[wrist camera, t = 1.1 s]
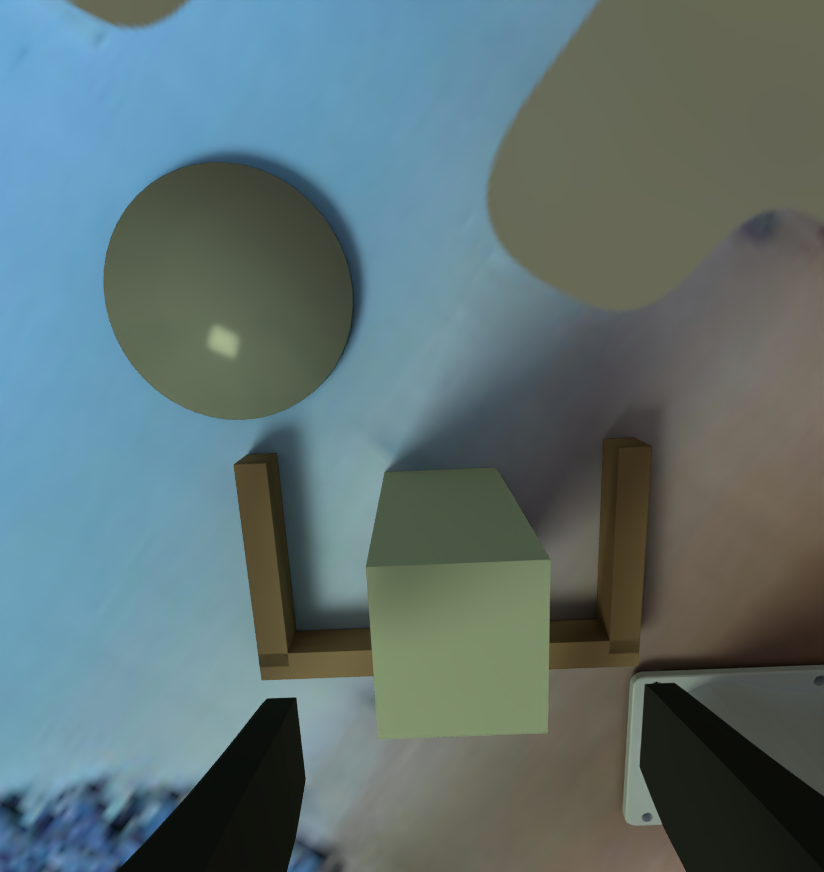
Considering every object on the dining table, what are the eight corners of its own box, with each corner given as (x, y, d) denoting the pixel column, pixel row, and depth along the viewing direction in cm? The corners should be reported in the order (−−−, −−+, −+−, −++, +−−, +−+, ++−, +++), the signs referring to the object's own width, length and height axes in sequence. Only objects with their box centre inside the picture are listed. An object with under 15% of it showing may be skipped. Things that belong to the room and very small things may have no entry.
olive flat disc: (344, 160, 17) (342, 155, 17) (361, 412, 19) (360, 414, 19) (90, 173, 17) (81, 168, 17) (134, 422, 19) (126, 424, 19)
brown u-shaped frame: (634, 437, 19) (651, 446, 18) (622, 642, 21) (638, 665, 20) (246, 454, 20) (233, 464, 18) (271, 656, 22) (261, 680, 20)
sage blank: (496, 467, 20) (550, 559, 12) (497, 580, 21) (547, 733, 13) (384, 472, 20) (366, 567, 12) (391, 584, 21) (378, 739, 13)
